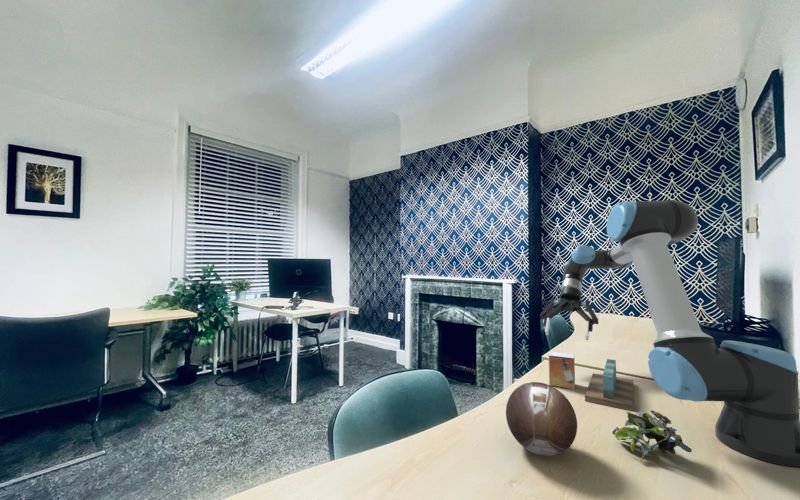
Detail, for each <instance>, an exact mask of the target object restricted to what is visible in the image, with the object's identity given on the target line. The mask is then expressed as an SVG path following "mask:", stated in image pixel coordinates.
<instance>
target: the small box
mask: <svg viewBox="0 0 800 500" xmlns="http://www.w3.org/2000/svg"><path fill="white" fill-rule="evenodd" d="M548 353H549V355H548V385H550V386H552V387H558V388H565V389H568V390H576V370H575V369H576V366H575V365H576V364H575V354H574V353H565V352H564V353H563V352H555V351H549V352H548Z"/></svg>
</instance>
